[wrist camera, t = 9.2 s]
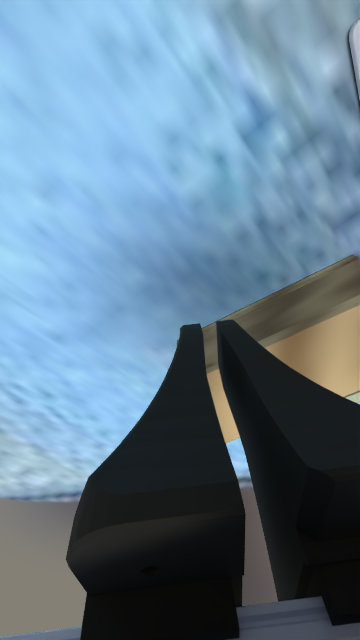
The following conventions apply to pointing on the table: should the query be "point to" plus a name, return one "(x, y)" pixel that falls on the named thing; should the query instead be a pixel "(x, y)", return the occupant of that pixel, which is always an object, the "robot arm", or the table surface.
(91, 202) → the table surface
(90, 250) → the table surface
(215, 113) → the table surface
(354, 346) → the tan wooden crate
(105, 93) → the table surface
